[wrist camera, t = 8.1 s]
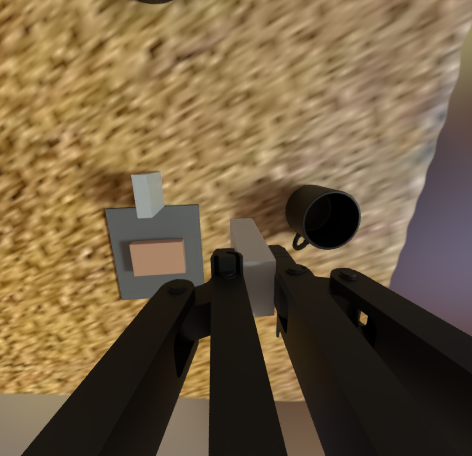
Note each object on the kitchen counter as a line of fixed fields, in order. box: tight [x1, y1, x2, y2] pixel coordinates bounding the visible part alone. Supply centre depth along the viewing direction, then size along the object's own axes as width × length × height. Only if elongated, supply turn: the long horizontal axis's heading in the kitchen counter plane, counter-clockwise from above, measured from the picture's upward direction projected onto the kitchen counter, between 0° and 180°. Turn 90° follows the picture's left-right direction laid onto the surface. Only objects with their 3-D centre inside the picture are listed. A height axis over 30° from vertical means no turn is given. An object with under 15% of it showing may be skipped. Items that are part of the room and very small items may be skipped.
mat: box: [105, 205, 204, 300], centre depth 44 cm, size 18×16×1 cm
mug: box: [286, 185, 361, 250], centre depth 40 cm, size 9×12×9 cm
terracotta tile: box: [129, 238, 186, 276], centre depth 43 cm, size 6×2×9 cm
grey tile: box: [131, 172, 165, 218], centre depth 37 cm, size 6×2×9 cm, turn 2°
